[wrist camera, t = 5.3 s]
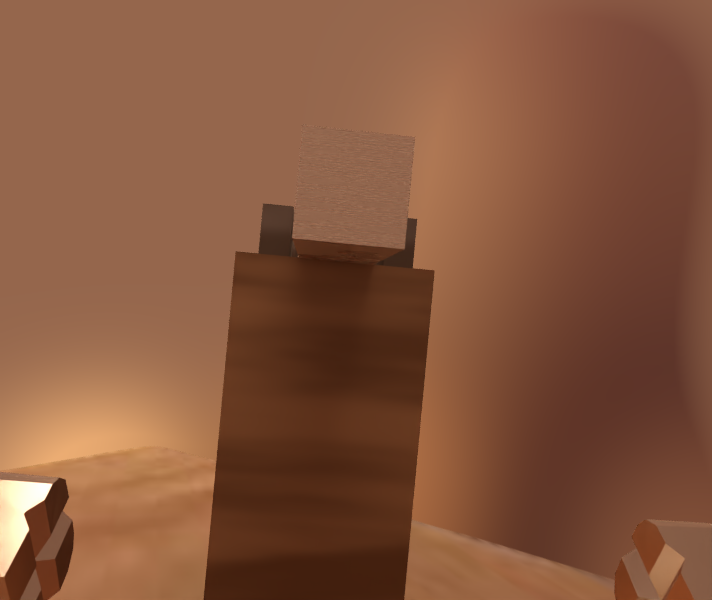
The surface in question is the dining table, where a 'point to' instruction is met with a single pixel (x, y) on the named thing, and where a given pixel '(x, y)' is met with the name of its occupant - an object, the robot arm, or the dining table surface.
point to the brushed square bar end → (352, 195)
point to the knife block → (318, 423)
